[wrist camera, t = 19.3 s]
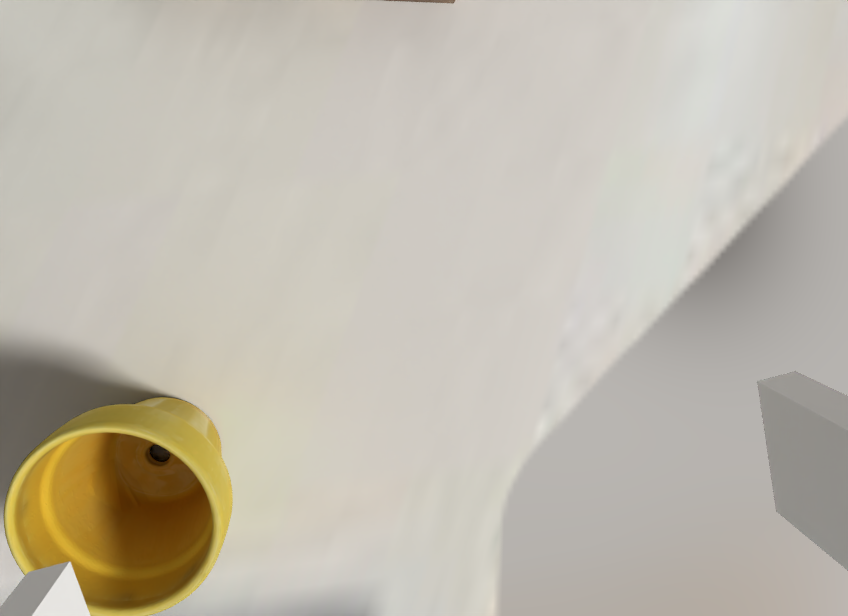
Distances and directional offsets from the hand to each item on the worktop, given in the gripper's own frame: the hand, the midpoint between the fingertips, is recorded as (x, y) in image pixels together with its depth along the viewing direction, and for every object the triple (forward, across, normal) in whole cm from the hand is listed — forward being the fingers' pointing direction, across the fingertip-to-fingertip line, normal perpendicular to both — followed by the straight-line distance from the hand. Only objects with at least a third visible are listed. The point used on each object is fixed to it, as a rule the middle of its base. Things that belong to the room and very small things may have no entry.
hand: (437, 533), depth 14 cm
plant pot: (+32, -15, -7) cm, 36 cm away
